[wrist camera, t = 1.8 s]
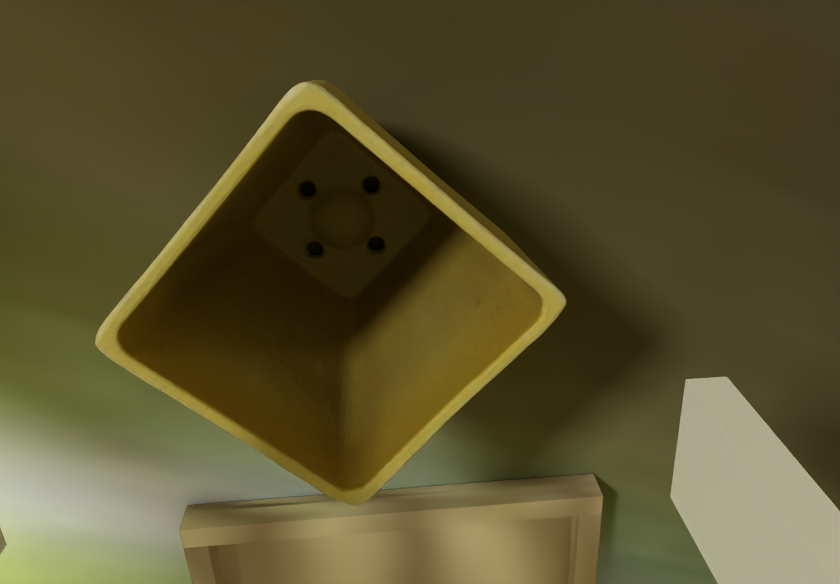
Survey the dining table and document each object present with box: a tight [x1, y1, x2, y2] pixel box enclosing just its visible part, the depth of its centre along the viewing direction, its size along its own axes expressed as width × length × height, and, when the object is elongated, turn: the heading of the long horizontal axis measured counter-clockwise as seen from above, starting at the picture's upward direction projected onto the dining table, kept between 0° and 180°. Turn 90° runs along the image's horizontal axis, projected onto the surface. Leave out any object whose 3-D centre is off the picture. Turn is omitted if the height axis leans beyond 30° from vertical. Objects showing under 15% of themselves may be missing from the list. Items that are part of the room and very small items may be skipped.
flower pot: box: [95, 80, 566, 506], centre depth 22 cm, size 9×9×9 cm
